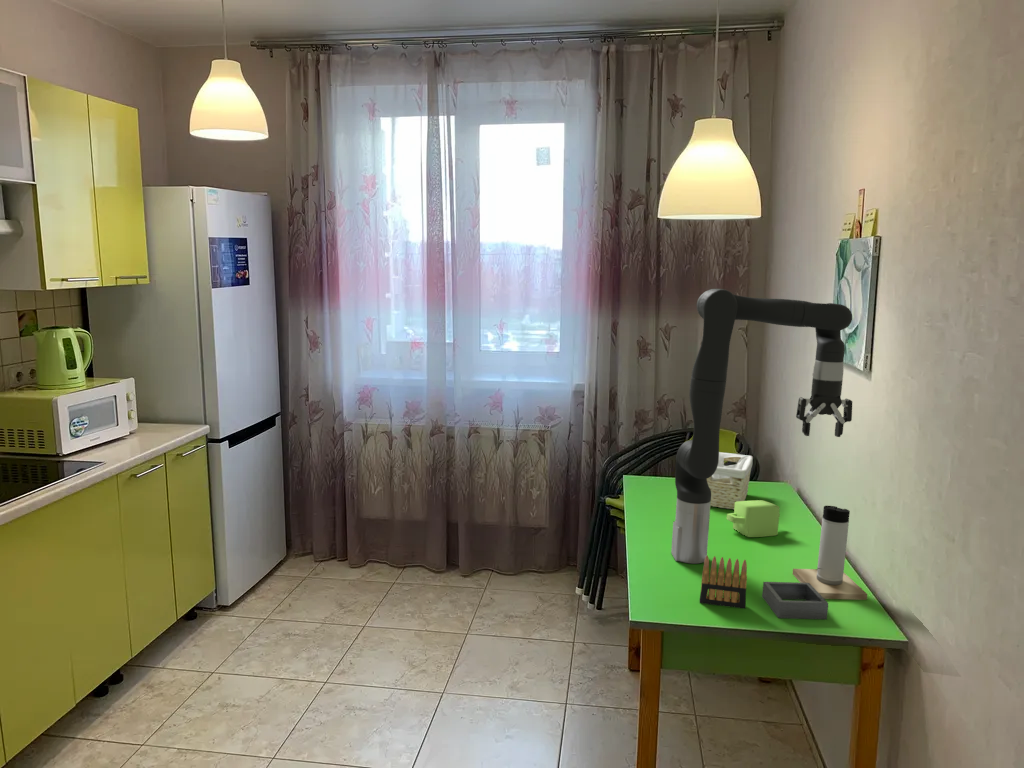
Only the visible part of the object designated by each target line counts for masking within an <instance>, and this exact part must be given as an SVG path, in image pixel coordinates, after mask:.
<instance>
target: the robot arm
mask: <svg viewBox="0 0 1024 768" xmlns="http://www.w3.org/2000/svg"><path fill="white" fill-rule="evenodd" d="M696 311H697V313H698V314H699V316H700V318H701V319H703V328H702V331H703V332H702V339H701V345H700V347H699V350H698V352H697V355H696V358H695V359H694V360H695V361H694V364H693V367H692V370H691V378H690V384H689V404H690V410H691V414H692V415H691V416H692V421H693V434H692V439H690V440H686V441H685V442H683V443H682V444H681V445H680V446H679V448H678V449H677V451H676V457H675V474H674V483H675V488H676V494H677V495H676V505H675V507H676V508H675V518H674V519H675V520H674V521H673V522H672V535H671V536H672V537H671V552H670V553H671V555H672V557H673V559H674V561H676V562H681V563H686V564H702V563H703V564H704V561H705V558H706V556H708V546H709V545H708V543H709V531H710V517H711V516H710V515H711V507H712V506H711V490H710V488H709V486H708V483H707V478H709V477H711V476H712V475H713V474H714V472H715V471H716V469H717V466H718V462H719V452H720V431H721V422H722V415H723V414H722V413H723V408H724V407H723V406H724V397H725V392H726V387H727V375H728V366H729V356H730V344H731V339H732V333H733V330H734V325H735V321H736V320H737V321H751V322H758V323H766V324H771V325H777V326H785V327H787V326H788V327H796V328H814V329H815V338H816V350H815V360H814V366H813V371H812V381H811V383H812V384H811V392H810V394H811V396H810V397H809V398H805V397H804V398H803V397H801V396H800V397H799V398H798V403H797V407H796V415H795V417H796V419H798V420H800V421H802V429H801V432H802V434H803V436H806V437H810V435H811V434H810V433H811V432H810V431H811V421H812V420H814V418H815V417H817V416H818V415H820V416H823V415H828V416H833V418H834V419H835V420H836V422H835V426H834V437H836V438H840V437H841V436H842V435H843V432H844V425H845V424H846V423H848V422H849V423H850V422H852V420H853V419H852V418H853V400H851V399H849V398H845V399H841V396H842V389H843V378H844V369H845V368H844V360H845V350H846V349H845V345H846V344H845V343H844V341H843V340H842V339H841V337H842V336H841V331H843V330H845V329H847V328H848V327H849V326H850V325H851V323H852V322H853V314H852V311H851V309H850V308H849V307H848V306H846V305H845V304H841V303H832V302H828V303H827V302H826V303H822V302H821V303H819V302H810V301H807V300H806V301H805V300H801V299H800V300H799V299H798V300H797V299H789V298H788V299H787V298H786V299H785V298H767V297H766V298H763V297H760V298H759V297H749V296H742V295H738V294H737V295H736V294H733V292H731V291H729V290H727V289H725V288H711V289H708V290H706V291H704V292H703V293H702V294H701V295H700V296H699V297H698V299H697V302H696ZM808 405H810V407H809V409H808V410H806V408H807V406H808ZM841 405H842V407H843V416H842V414H841V411H840V409H839V408H840V406H841ZM806 411H807V412H806ZM805 413H806V414H805Z"/></svg>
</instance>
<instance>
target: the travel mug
mask: <svg viewBox="0 0 1024 768" xmlns="http://www.w3.org/2000/svg"><path fill="white" fill-rule="evenodd" d="M822 510H823V512H822V517H821V518H822V520H821V529H820V538H819V547H818V558H817V559H818V560H817V566H816V567H817V568H816V569H817V579H818V580H819V581H820V582H822V583H824V584H828V585H840V584H842V582H843V573H845V572H844V571H845V563H846V553H847V552H846V551H847V542H848V535H849V525H850V524H849V523H850V510H849V509H848V508H841V507H838V506H834V505H824V506H823V509H822Z"/></svg>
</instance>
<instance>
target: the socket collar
mask: <svg viewBox="0 0 1024 768" xmlns="http://www.w3.org/2000/svg"><path fill="white" fill-rule="evenodd" d="M761 598H762V599H763V600H764V601H765V602H766V604H767V605H768V607H769V606H770V607H769V608H770V609H771V610H772V612H773V613H774V615H775V616H776V617H777V618H778V619H797V620H798V619H801V620H804V619H805V620H827V619H828V611H829V602H828V601H827V599H824V598H823V597H822V596H821V595H820V594H819V593H818V592H817V591H816V590H815V589H814V588H813V587H812V585H811V584H810V583H800V582H793V581H791V582H790V581H763V582H762V593H761Z"/></svg>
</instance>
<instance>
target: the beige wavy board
mask: <svg viewBox="0 0 1024 768" xmlns="http://www.w3.org/2000/svg"><path fill="white" fill-rule="evenodd" d="M792 575H793V577H795V579H797V581H799V582H798V583H810V584H811V585H812V587H813V588H814V589H815V590H816V591H817V592H818V593H819V594H820V595H821V596H822V597H823V598H824V599H825V600H857V601H858V600H859V601H863V600H865V601H866V600H868V593H867V592H866V591H865V590H864V589H862V587H860V586H859V584H857V583H856V582H855V581H854V580H853V579H852V578H851V577H850V576H848V575H847V573H845V572H844V573H843V582H842V584H840V585H828V584H824V583H822V582H820V581H819V580H818V579H817V568H792Z"/></svg>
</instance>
